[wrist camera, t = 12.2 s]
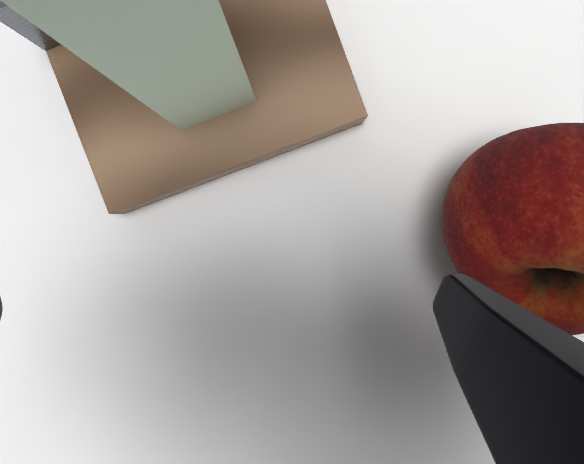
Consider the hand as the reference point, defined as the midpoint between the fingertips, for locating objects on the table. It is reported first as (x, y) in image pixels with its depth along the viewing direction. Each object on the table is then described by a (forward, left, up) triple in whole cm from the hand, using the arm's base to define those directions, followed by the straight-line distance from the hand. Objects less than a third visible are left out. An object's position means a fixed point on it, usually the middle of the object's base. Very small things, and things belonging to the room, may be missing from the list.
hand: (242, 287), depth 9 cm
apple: (0, -11, -12) cm, 16 cm away
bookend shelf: (+8, +2, -12) cm, 14 cm away
